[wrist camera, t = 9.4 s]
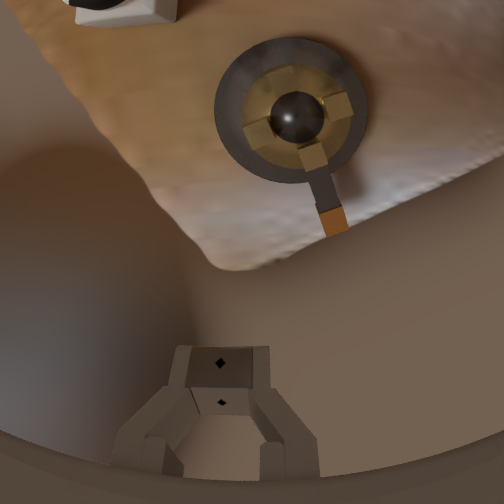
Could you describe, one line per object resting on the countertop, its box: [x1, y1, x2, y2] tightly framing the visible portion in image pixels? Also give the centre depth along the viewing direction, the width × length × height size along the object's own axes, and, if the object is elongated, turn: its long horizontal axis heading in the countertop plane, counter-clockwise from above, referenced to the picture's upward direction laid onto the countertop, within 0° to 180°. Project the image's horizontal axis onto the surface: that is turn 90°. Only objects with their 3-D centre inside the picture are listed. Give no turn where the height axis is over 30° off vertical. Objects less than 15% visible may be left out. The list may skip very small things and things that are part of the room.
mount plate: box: [214, 38, 368, 184], centre depth 27 cm, size 14×14×3 cm
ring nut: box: [241, 64, 354, 237], centre depth 26 cm, size 16×9×4 cm, turn 23°
